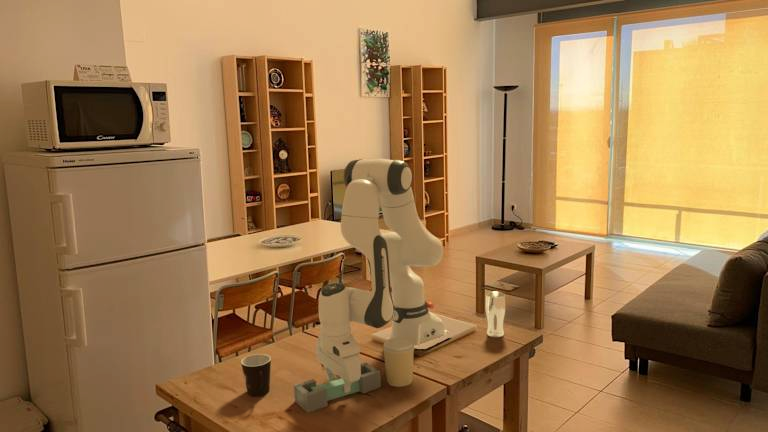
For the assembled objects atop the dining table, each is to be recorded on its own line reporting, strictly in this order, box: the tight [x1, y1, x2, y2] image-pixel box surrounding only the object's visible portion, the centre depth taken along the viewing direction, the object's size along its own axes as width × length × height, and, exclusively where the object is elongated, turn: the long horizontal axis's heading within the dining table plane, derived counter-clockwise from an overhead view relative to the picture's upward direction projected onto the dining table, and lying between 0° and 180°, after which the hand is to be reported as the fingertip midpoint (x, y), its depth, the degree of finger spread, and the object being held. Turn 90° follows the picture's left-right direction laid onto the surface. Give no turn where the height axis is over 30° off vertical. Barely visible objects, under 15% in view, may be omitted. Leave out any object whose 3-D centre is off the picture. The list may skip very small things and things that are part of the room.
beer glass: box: [485, 291, 506, 338], centre depth 209 cm, size 7×7×15 cm
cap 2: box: [359, 361, 382, 394], centre depth 175 cm, size 6×8×5 cm
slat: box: [310, 377, 361, 402], centre depth 171 cm, size 16×3×4 cm, turn 120°
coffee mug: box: [240, 353, 272, 398], centre depth 172 cm, size 12×9×10 cm
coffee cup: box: [382, 338, 415, 387], centre depth 177 cm, size 9×9×12 cm
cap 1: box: [293, 378, 328, 414], centre depth 166 cm, size 6×8×5 cm
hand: (338, 385), depth 170 cm, fingers open, 8 cm apart
